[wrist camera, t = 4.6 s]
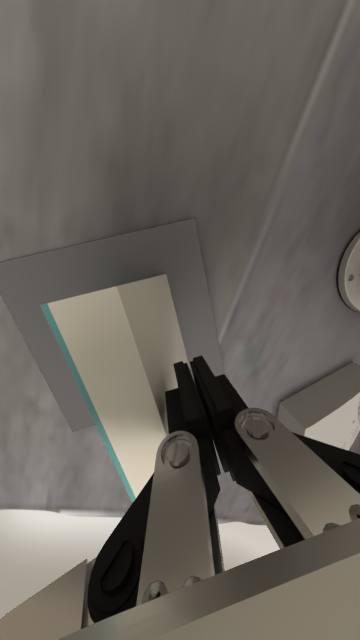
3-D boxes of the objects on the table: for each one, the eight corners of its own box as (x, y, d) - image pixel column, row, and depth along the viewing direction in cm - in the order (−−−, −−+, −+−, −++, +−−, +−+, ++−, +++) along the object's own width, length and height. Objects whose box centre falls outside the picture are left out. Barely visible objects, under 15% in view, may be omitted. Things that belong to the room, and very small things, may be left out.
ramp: (300, 492, 34) (325, 531, 29) (231, 482, 31) (246, 523, 26) (380, 371, 29) (429, 392, 24) (308, 344, 26) (346, 361, 21)
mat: (193, 219, 19) (194, 217, 19) (225, 383, 25) (226, 386, 25) (-9, 265, 18) (-15, 265, 17) (74, 428, 24) (72, 431, 23)
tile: (166, 273, 19) (116, 286, 6) (189, 366, 23) (191, 509, 9) (140, 280, 20) (39, 305, 6) (167, 370, 23) (137, 513, 10)
